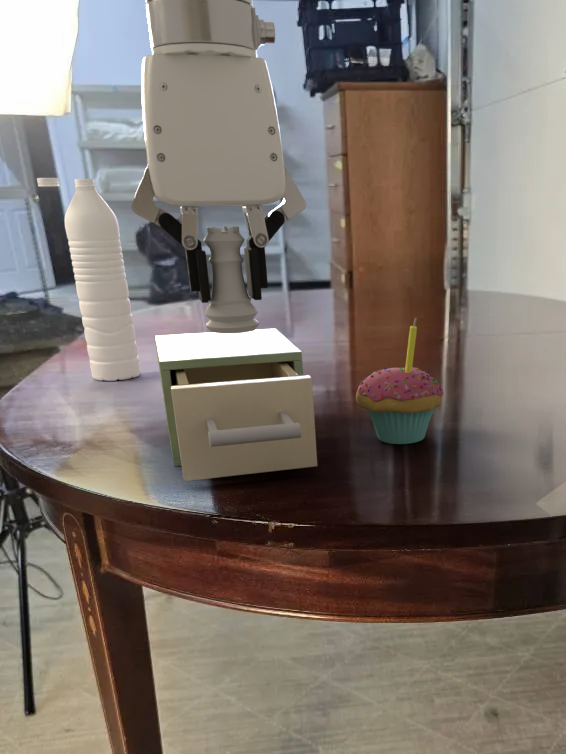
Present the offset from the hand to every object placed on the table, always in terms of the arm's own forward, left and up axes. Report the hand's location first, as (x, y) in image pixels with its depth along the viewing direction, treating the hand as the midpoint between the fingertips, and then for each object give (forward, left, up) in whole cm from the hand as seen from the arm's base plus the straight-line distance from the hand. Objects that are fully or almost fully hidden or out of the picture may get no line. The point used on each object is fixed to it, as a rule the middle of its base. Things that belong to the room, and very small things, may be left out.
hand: (230, 297), depth 64 cm
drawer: (0, 0, -14) cm, 14 cm away
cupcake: (+16, +5, -15) cm, 23 cm away
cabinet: (0, +11, -15) cm, 19 cm away
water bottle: (-13, +47, -15) cm, 51 cm away
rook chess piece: (0, 0, -3) cm, 3 cm away
